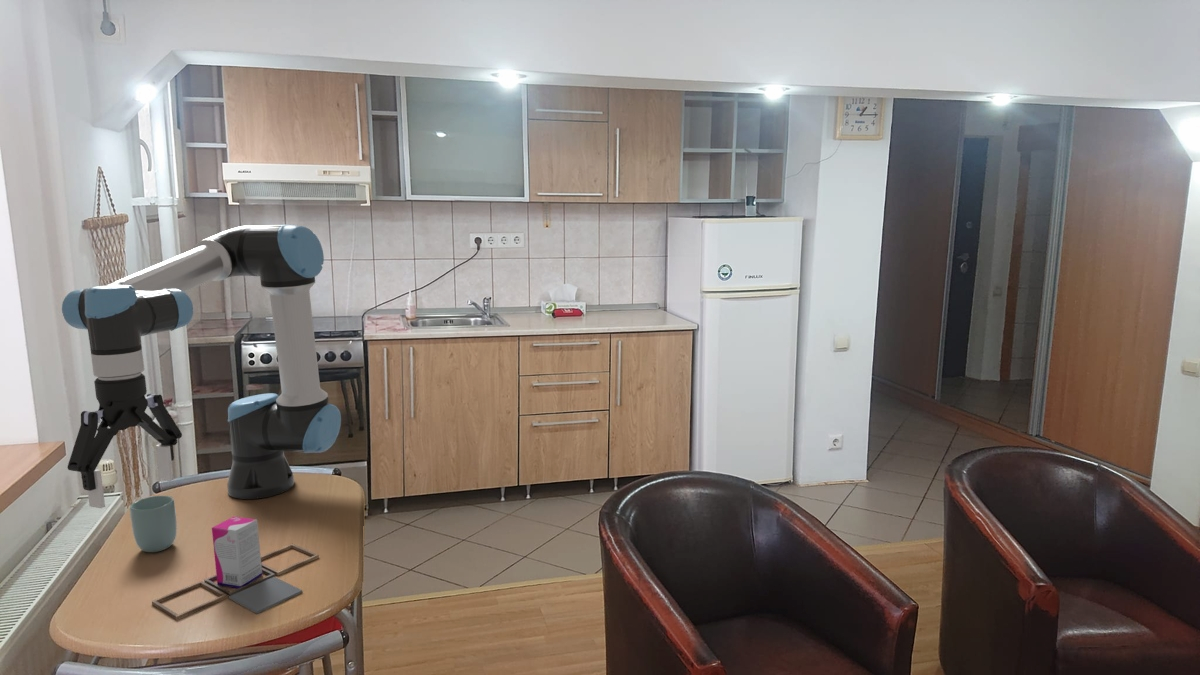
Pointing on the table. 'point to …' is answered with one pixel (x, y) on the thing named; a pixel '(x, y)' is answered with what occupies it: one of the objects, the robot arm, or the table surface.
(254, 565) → the supplement box
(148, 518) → the cup
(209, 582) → the frame
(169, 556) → the table surface
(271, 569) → the frame
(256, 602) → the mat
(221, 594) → the frame
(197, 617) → the table surface
